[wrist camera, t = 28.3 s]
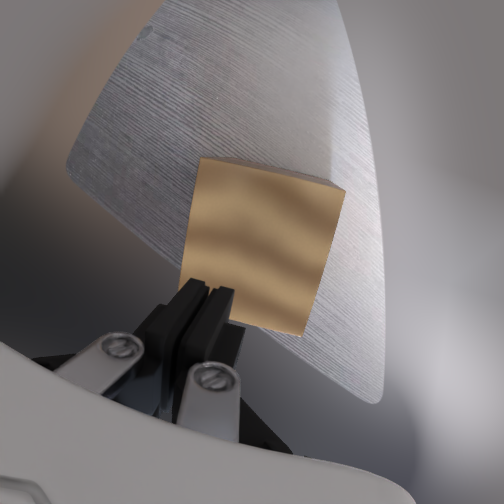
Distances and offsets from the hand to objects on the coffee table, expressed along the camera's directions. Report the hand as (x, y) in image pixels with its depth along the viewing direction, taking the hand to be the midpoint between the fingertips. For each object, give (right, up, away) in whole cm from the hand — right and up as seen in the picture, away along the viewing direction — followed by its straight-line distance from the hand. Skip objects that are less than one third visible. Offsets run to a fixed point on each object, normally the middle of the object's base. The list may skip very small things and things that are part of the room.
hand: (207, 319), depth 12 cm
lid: (+2, +3, +17) cm, 18 cm away
